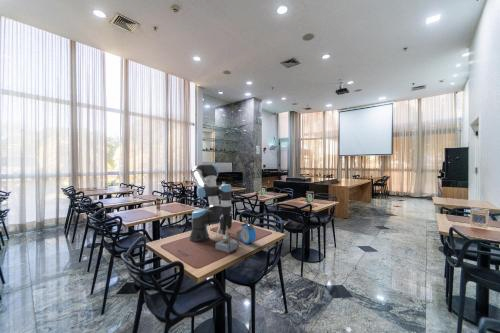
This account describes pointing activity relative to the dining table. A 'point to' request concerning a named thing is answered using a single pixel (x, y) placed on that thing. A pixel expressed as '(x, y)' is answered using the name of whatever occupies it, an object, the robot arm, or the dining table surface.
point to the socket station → (229, 241)
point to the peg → (227, 236)
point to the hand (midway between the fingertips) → (226, 238)
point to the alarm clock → (247, 233)
